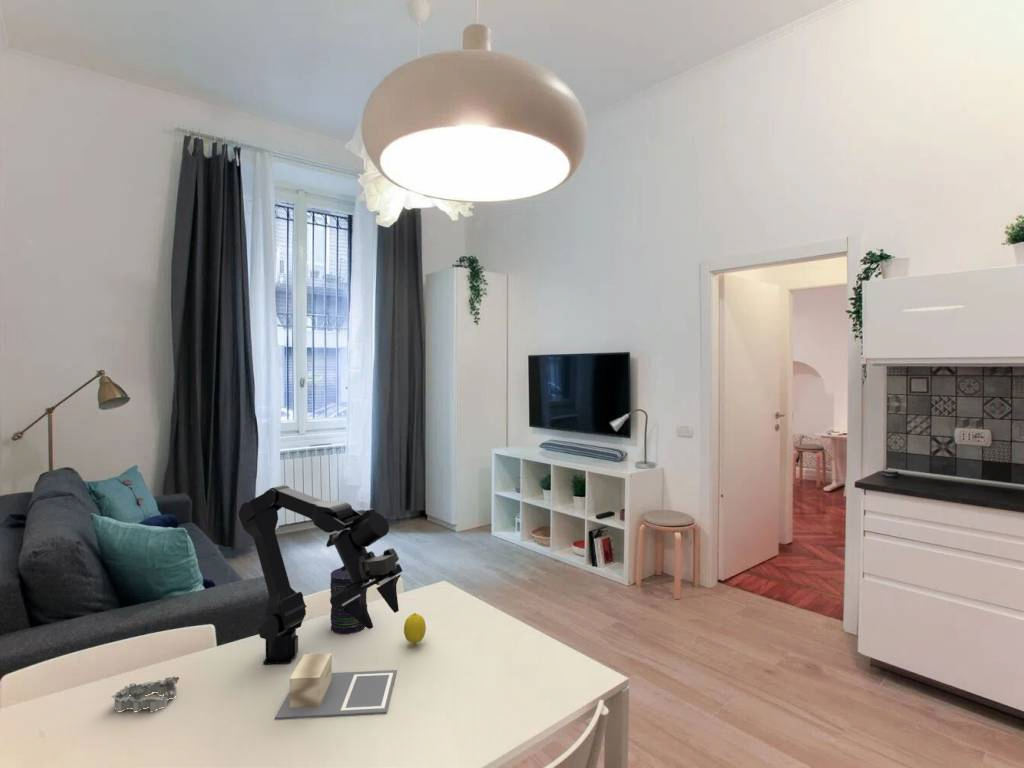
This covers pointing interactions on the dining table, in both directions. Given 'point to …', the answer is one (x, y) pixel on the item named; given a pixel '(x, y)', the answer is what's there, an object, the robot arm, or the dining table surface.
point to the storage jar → (341, 619)
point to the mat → (348, 696)
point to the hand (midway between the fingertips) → (384, 619)
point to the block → (310, 680)
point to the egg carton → (139, 692)
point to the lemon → (414, 628)
